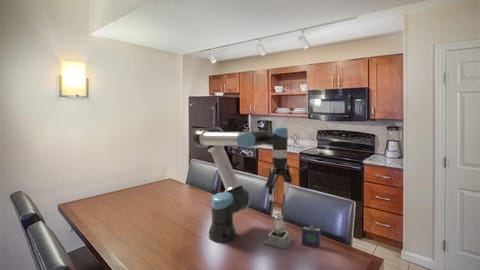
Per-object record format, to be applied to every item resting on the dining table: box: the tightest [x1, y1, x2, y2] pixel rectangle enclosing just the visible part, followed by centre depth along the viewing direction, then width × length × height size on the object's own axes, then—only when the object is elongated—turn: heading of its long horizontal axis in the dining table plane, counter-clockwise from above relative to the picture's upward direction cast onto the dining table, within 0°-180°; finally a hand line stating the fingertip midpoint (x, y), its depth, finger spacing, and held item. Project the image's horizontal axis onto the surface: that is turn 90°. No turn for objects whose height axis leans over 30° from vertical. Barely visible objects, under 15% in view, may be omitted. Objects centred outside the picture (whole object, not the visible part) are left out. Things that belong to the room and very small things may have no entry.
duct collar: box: [263, 228, 294, 251], centre depth 140 cm, size 12×12×5 cm
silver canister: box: [273, 213, 284, 238], centre depth 139 cm, size 5×5×14 cm
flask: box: [301, 225, 321, 248], centre depth 136 cm, size 9×3×11 cm, turn 77°
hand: (279, 197), depth 138 cm, fingers open, 13 cm apart
